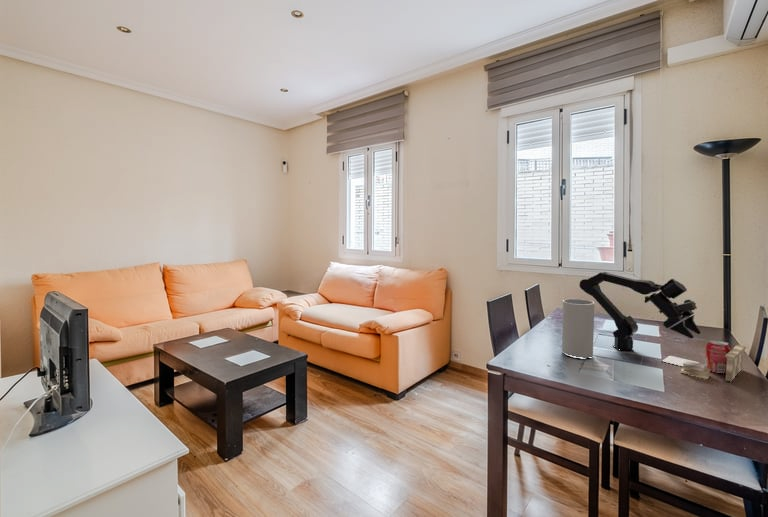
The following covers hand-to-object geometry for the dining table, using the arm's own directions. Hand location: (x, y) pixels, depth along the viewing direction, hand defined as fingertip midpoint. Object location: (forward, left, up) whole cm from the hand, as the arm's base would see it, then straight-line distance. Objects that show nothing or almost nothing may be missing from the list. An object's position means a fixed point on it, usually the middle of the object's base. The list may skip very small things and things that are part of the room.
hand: (696, 335), depth 144 cm
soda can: (+5, -5, -13) cm, 15 cm away
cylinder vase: (-42, +9, -13) cm, 45 cm away
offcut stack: (-6, -9, -13) cm, 17 cm away
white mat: (-3, +4, -13) cm, 14 cm away
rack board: (+8, -8, -13) cm, 18 cm away
